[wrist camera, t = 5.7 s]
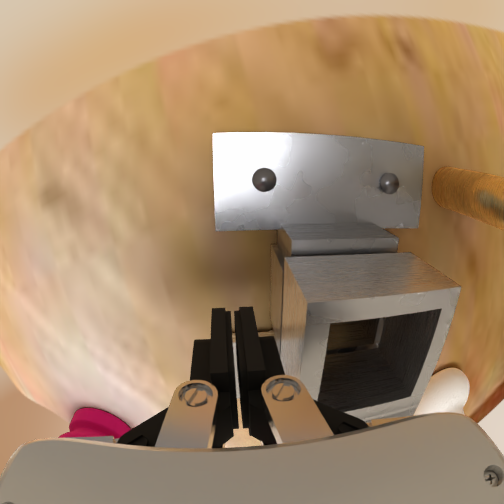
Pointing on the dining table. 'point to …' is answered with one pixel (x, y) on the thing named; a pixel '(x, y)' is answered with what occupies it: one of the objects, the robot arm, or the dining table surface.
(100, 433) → the pepper mill
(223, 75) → the dining table surface
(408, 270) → the square tube bracket
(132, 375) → the dining table surface
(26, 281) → the dining table surface
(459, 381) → the garlic bulb
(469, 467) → the robot arm
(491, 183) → the hinge pin
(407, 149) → the fixed leaf
